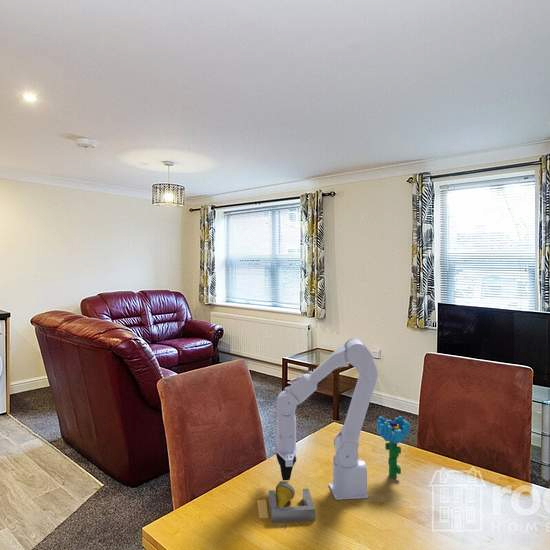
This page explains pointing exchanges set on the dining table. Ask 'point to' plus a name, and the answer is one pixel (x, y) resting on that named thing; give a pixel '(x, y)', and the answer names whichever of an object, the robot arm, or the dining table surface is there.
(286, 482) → the grooved yellow cone
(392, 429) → the toy flower
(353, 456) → the robot arm
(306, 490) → the bracket
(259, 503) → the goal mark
